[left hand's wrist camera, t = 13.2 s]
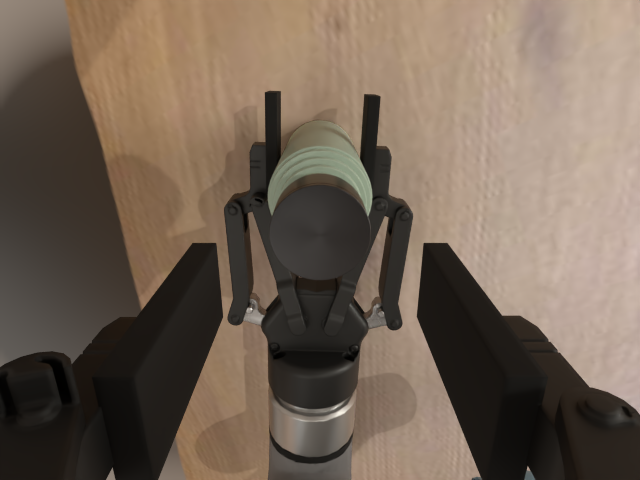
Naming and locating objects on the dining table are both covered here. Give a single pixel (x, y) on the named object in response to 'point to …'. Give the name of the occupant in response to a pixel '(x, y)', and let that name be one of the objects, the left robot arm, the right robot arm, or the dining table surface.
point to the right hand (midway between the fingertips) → (322, 94)
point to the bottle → (320, 160)
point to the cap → (320, 227)
